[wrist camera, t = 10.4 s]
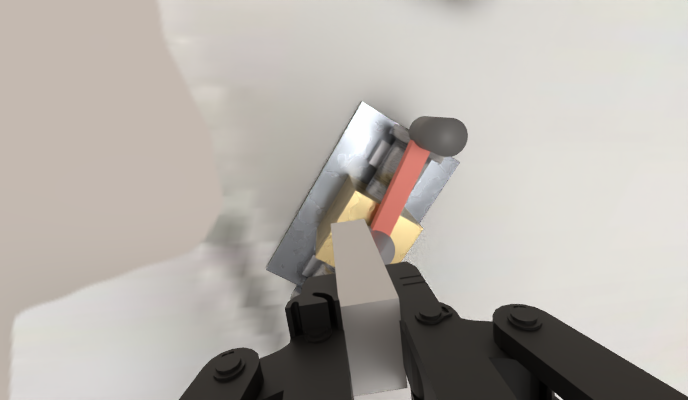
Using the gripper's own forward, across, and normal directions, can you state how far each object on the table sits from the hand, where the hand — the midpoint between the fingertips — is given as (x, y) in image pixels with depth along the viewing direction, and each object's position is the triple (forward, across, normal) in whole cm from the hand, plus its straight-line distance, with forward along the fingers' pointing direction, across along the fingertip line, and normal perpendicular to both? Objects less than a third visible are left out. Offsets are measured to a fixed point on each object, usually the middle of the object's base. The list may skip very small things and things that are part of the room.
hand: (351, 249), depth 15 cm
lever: (+16, +5, -2) cm, 17 cm away
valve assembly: (+26, +3, -7) cm, 27 cm away
